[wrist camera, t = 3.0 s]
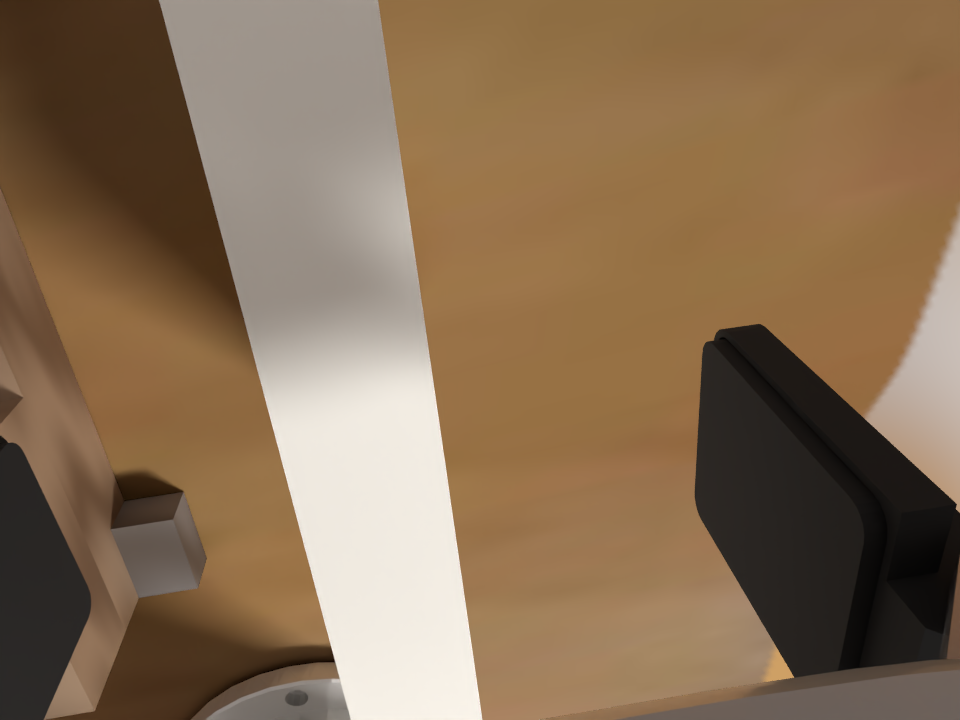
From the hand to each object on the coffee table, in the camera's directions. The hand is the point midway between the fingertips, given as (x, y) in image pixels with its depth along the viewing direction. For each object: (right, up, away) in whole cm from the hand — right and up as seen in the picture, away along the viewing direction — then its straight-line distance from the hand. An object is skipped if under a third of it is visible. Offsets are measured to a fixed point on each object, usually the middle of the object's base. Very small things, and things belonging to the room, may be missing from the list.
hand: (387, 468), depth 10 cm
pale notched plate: (-2, +5, +12) cm, 13 cm away
